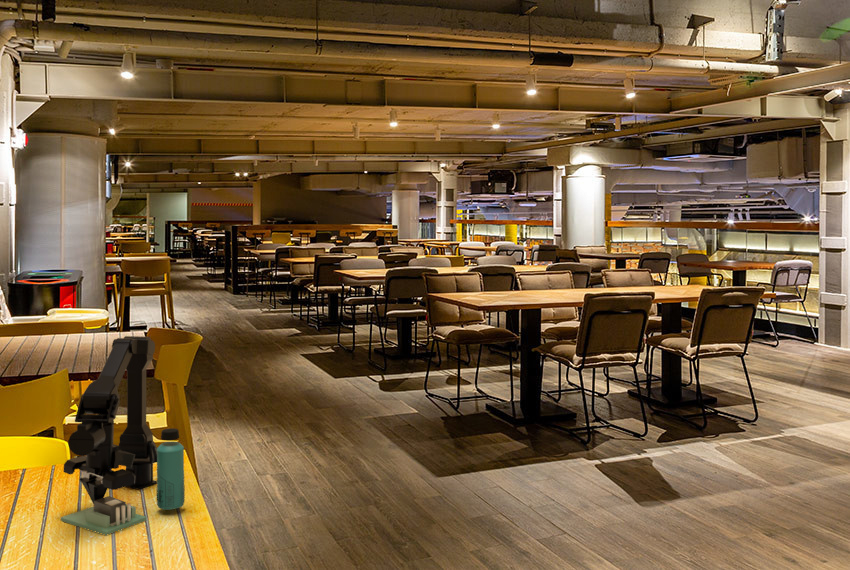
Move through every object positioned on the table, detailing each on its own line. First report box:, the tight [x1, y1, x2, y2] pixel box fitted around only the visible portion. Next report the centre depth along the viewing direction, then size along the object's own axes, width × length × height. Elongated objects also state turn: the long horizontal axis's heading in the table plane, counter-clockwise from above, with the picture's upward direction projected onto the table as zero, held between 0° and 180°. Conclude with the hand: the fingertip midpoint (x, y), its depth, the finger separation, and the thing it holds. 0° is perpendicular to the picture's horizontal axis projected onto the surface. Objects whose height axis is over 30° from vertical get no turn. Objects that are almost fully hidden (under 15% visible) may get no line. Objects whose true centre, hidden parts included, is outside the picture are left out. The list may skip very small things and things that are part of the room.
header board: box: [60, 502, 148, 536], centre depth 178 cm, size 16×11×5 cm
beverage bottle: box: [155, 428, 186, 510], centre depth 184 cm, size 6×7×20 cm
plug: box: [93, 495, 127, 524], centre depth 177 cm, size 6×4×4 cm, turn 60°
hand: (97, 508), depth 179 cm, fingers closed
